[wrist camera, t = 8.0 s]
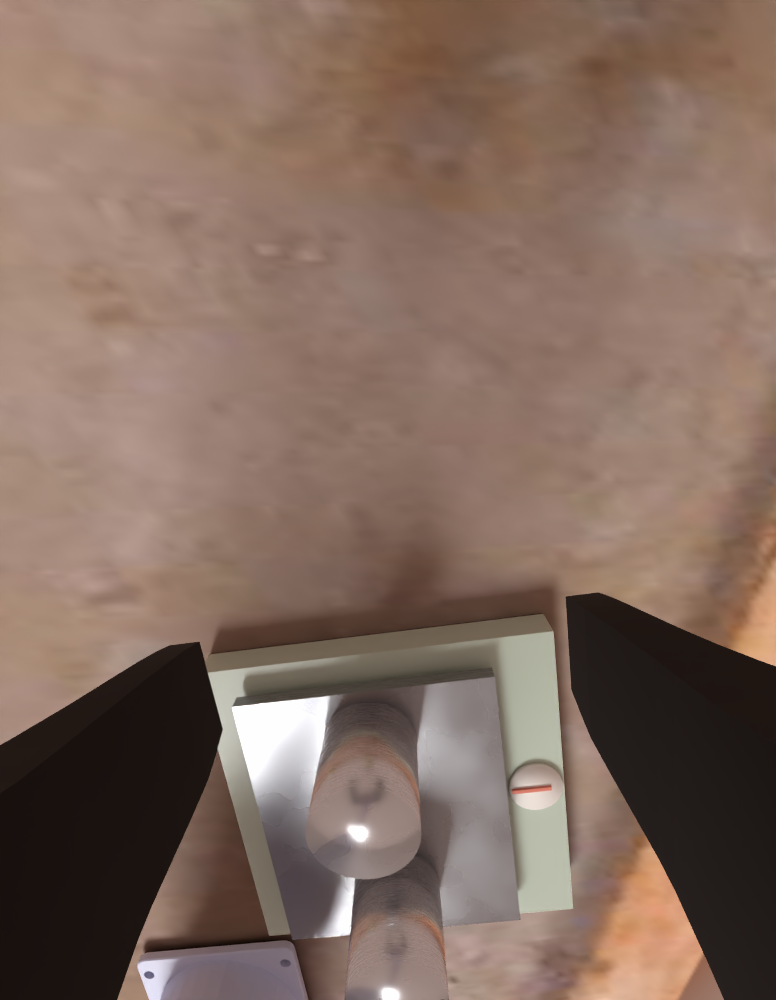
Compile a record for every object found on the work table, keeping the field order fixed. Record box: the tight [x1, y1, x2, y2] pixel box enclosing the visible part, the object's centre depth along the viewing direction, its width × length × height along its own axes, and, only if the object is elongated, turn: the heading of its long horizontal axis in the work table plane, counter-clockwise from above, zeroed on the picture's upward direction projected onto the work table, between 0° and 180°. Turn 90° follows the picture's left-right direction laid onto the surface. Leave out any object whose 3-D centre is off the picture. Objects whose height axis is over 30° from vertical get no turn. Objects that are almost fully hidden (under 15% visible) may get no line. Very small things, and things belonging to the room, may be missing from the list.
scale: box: [205, 614, 573, 936], centre depth 22 cm, size 14×14×2 cm
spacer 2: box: [345, 856, 449, 1000], centre depth 19 cm, size 4×4×4 cm
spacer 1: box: [305, 702, 421, 879], centre depth 18 cm, size 4×4×4 cm
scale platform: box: [232, 667, 520, 940], centre depth 21 cm, size 12×10×2 cm
